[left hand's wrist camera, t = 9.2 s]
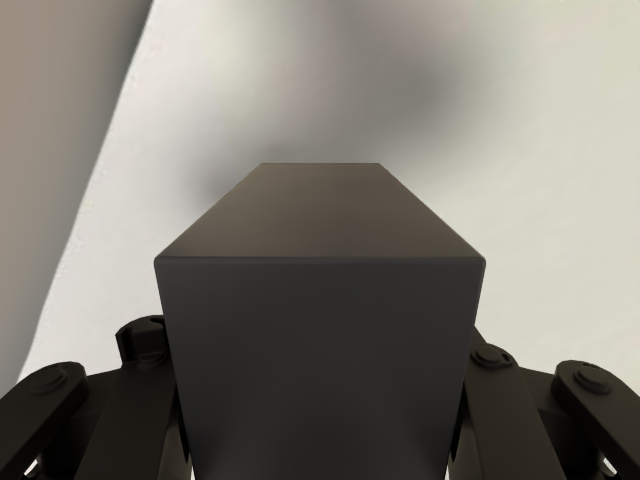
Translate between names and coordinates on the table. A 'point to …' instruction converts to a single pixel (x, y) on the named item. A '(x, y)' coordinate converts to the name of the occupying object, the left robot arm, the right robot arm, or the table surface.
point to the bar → (319, 327)
